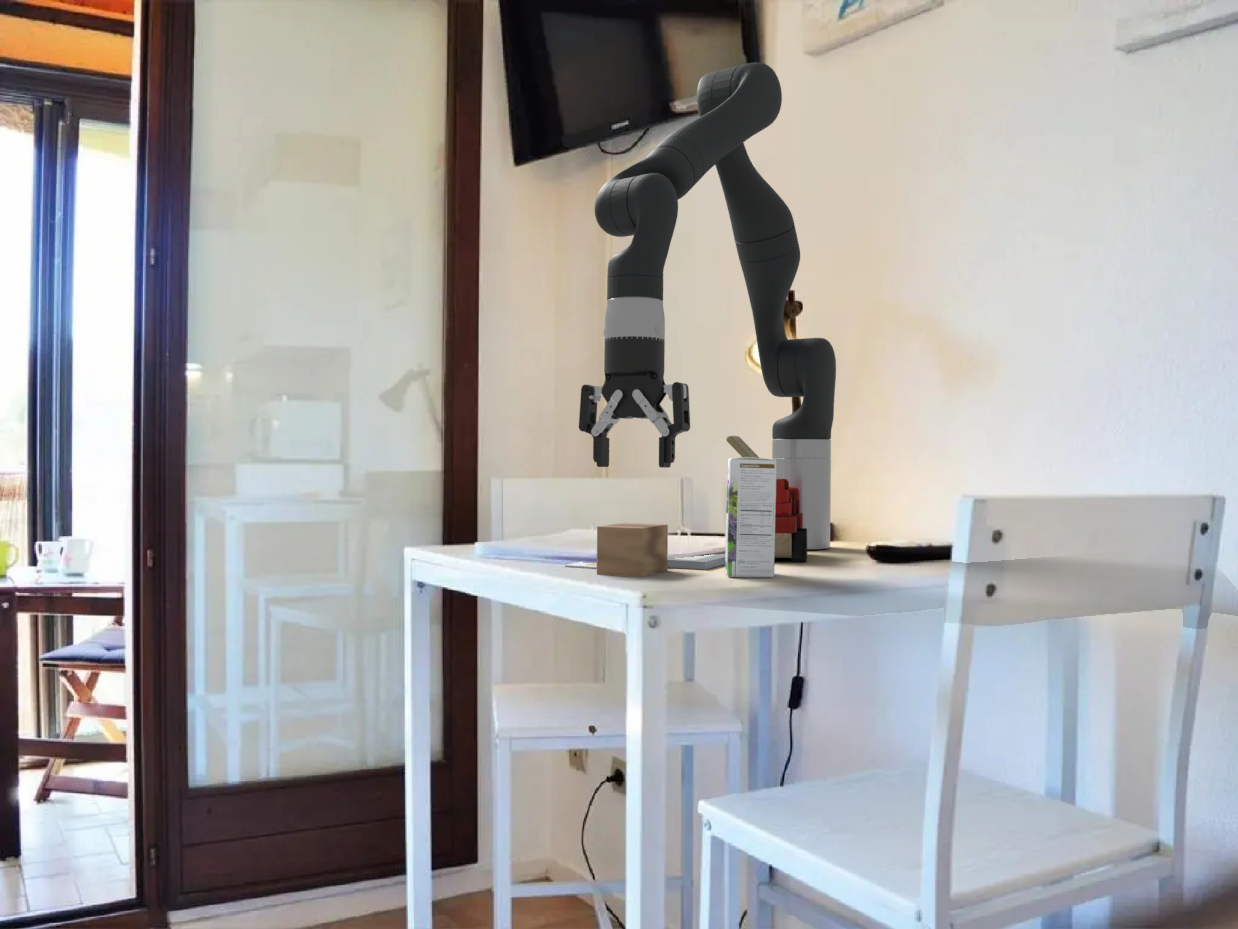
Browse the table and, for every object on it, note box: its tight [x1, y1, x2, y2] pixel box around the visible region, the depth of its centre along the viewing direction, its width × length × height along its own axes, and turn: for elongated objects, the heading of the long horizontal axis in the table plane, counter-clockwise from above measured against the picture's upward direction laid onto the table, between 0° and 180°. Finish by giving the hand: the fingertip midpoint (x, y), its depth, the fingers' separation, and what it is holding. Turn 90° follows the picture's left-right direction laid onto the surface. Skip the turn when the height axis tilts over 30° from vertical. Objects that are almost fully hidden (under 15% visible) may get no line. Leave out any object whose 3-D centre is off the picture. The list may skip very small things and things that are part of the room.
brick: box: [596, 522, 669, 578], centre depth 131 cm, size 8×6×6 cm
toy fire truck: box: [726, 435, 808, 563], centre depth 151 cm, size 11×16×18 cm
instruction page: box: [564, 561, 597, 569], centre depth 139 cm, size 9×7×1 cm
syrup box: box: [724, 456, 776, 578], centre depth 128 cm, size 6×6×14 cm
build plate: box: [667, 553, 725, 571], centre depth 141 cm, size 10×10×1 cm
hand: (633, 467), depth 131 cm, fingers open, 8 cm apart
